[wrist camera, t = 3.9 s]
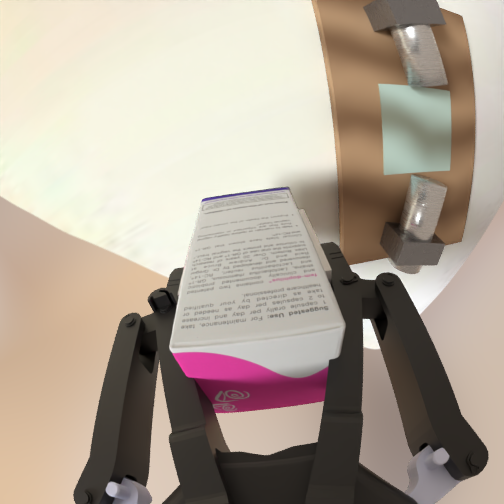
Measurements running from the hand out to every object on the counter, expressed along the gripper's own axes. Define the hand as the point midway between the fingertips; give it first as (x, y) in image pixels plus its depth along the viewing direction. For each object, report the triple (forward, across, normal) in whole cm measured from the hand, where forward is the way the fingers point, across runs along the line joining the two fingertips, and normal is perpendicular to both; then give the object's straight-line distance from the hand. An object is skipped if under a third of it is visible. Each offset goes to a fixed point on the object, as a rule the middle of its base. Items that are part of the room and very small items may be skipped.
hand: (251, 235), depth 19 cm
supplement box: (+1, 0, 0) cm, 1 cm away
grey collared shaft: (+5, +15, +14) cm, 21 cm away
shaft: (+5, +15, -3) cm, 16 cm away
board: (+6, +16, +5) cm, 18 cm away
